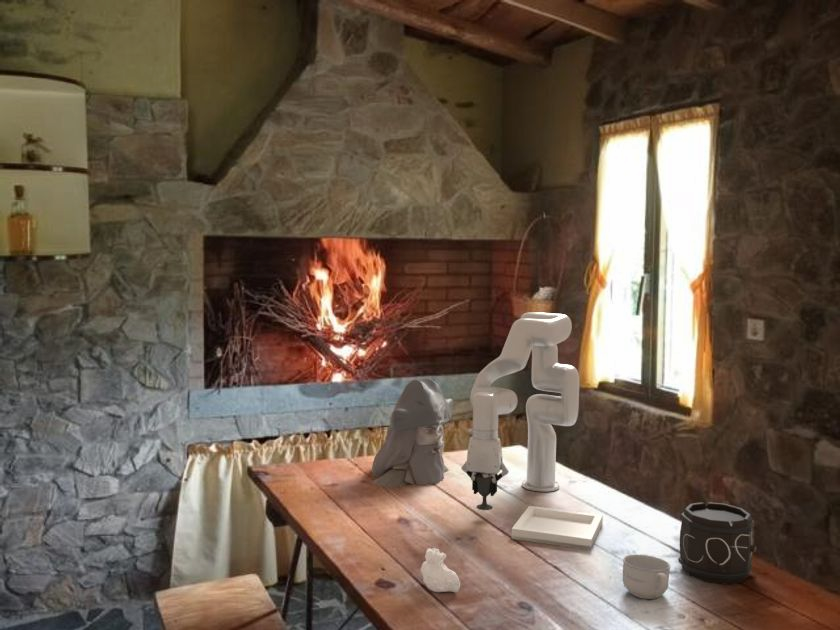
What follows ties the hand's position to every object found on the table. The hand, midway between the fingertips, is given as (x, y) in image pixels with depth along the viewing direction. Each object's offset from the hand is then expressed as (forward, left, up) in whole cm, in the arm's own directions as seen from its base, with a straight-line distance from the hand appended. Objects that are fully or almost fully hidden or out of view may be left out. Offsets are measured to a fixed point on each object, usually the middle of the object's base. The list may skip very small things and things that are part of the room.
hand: (484, 493), depth 250 cm
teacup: (+39, +51, -8) cm, 64 cm away
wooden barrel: (+17, +66, -8) cm, 68 cm away
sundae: (0, 0, -5) cm, 5 cm away
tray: (+3, +23, -8) cm, 24 cm away
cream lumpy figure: (+54, +4, -8) cm, 54 cm away
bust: (-34, -35, -8) cm, 50 cm away
